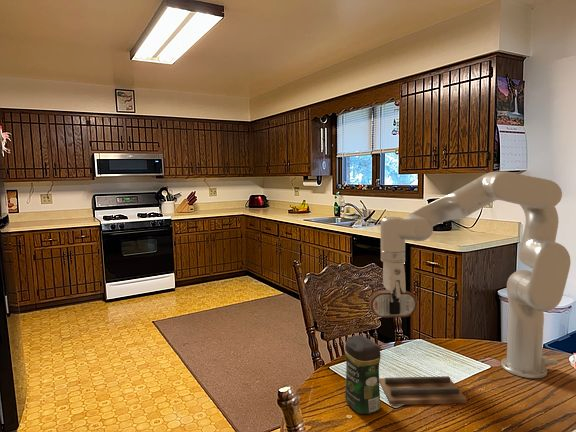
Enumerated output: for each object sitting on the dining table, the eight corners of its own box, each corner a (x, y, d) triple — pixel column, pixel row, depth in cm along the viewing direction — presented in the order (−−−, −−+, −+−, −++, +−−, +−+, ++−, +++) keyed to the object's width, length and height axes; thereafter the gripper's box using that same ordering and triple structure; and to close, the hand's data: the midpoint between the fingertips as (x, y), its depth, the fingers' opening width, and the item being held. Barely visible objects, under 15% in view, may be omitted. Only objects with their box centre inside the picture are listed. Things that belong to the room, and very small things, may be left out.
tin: (414, 314, 130) (414, 289, 129) (418, 317, 127) (417, 291, 126) (368, 315, 130) (368, 290, 129) (370, 318, 127) (370, 292, 126)
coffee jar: (340, 399, 111) (340, 335, 109) (364, 393, 114) (365, 330, 112) (359, 419, 102) (359, 349, 100) (385, 411, 105) (385, 343, 103)
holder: (448, 380, 120) (448, 372, 120) (466, 403, 108) (466, 393, 108) (379, 382, 120) (379, 373, 120) (389, 404, 108) (389, 395, 108)
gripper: (412, 260, 119) (412, 320, 120) (397, 250, 135) (397, 303, 136) (387, 261, 118) (388, 321, 120) (375, 251, 135) (375, 304, 136)
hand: (393, 311), depth 128 cm, fingers closed on tin, 2 cm apart
